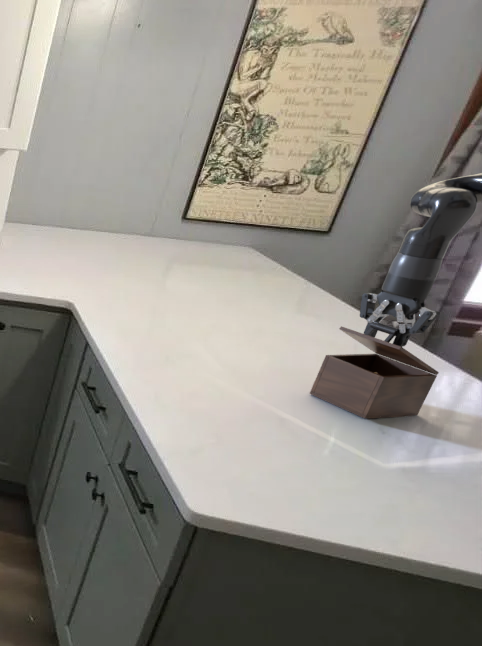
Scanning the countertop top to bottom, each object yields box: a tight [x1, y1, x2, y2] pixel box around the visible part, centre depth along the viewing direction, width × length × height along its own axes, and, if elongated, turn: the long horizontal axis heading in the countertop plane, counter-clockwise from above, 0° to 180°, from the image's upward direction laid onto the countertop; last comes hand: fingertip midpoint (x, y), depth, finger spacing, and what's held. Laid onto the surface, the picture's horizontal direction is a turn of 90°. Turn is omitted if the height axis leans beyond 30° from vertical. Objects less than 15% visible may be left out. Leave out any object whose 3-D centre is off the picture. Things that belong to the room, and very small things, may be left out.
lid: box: [338, 321, 440, 376], centre depth 150 cm, size 16×13×5 cm
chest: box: [309, 353, 438, 420], centre depth 153 cm, size 16×13×11 cm
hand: (382, 342), depth 149 cm, fingers closed on lid, 5 cm apart
